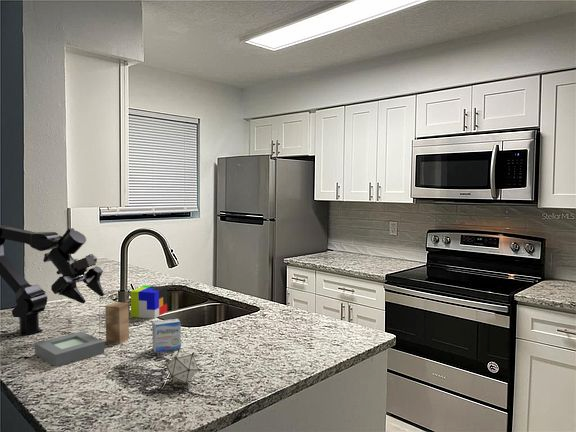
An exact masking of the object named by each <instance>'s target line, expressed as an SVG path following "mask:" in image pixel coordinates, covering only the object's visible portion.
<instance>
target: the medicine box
mask: <svg viewBox="0 0 576 432" xmlns="http://www.w3.org/2000/svg"><path fill="white" fill-rule="evenodd" d="M151 324H152V325H151V329H152V332H151V333H152V336H151V337H152V339H151V341H152V350H153V351H154V353H155V354H156V353H162V352H170V351H175V350H178V349H179V350H180V349H181V347H182V344H181V343H182V342H181V341H182V337H181V335H182V334H181V333H182V329H181V328H182V327H181V326H182V324H181V321H180V319H179V318H172V319H164V320H157V321H156V320H155V321H152V322H151Z"/></svg>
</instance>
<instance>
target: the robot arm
mask: <svg viewBox="0 0 576 432" xmlns="http://www.w3.org/2000/svg"><path fill="white" fill-rule="evenodd" d="M7 240H9V241H12V242H17V243H22V244H26V245H28V246H29V247H30V248H32V249H33V250H36V251H39V252H44V251H49V250H50V251H49V252H47V253H44V255H43V256H44V257H43V263H47V262H48V263H49V262H51V263H52V264H53V265H54V267H55V268H56V269H57V271H56V275H59V277H58V278H57V279H56V281H55V282H53V283H52V284H51V286H50V288H51V289H50V290H51V291H52V293H53V294H54V295H57V294H58V295H59V296H63V297H66V298H69V299H71V300H74V301H76V302H78V303H80V304H85V303H86V299H85V298H84V296H83V294H82V293H81V291H80V290H79V289H78V287H77V283H79V282H83V283H84V284H85V286H86V287H88V289H90V290H91V291H93V292H94V293H95V294H97V295H98V296H100V297H101V298H102V297H104V296H105V293H104V290H103V286H102V284H101V276H102V273H104V271H103V269H102V268H101V267H100V266H96V265H97V261H98V258H97V257H96V256H95V254H93V253H90V254H88V255H85V257H83V258H80V259H78V258H75V259H74V258H73V256H72V255H74V254H76V253H77V252H78V251H79V250H80V249H81V248H82V247H83V245H85V244H86V242H87V237H86V236H85V235H84V234H83V233H82V232H80V231H78V230H75V229H74V227H72V228H68V229H66V231H65V233H64V234H63V235H59V233H57V232H55V231H40V232H35V231H30V230H27V229H26V230H25V229H22V228H16V227H11V226H8V225H0V277H1V278H2V280H3V281H5V283H6V284H7V286H8V287H9V288H10V289H11V290H12V291H13V292H14V294H15V295H14V296H15V303H16V304H17V305H15V306H14V308H12V310H11V314H12V317H13V318H19V319H18V321H19V323H18V324H19V329H16V330H15V332H16V333H18V335H20V336H21V337H23V336H27V335H28V336H29V335H32V334H37V333H42V332H43V329H42V328H41V327H40V319H39V317H40V315H39V313H42V312H45V308H46V306H47V303H48V296H47V294H46V292H47V291H44V289H43V288H42V287H41V285H40V284H34V285H32V284H31V283H29V282H28V281H27V280H26V278H25V277H24V276H23V275H22V274H21V272H20V271H19V270H18V269H17V268H16V267H15V266H14V264H13V263H12V261H10V260H9V259H8V257H7V256H6V255H5V247H4V245H5V244H6V242H7ZM92 266H94V267H92ZM90 267H91V268H90ZM60 275H61V276H60Z"/></svg>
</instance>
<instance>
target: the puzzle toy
mask: <svg viewBox="0 0 576 432" xmlns="http://www.w3.org/2000/svg"><path fill="white" fill-rule="evenodd" d="M167 312H168V286H158V285H157V286H156V285H142V286H140V287H137V288H135V289H133V290H131V291H130V317H132V318H140V319H141V318H144V319H153V320H154V319H156V318H158V317H160V316H162V315H164V314H165V313H167Z"/></svg>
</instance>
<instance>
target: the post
mask: <svg viewBox="0 0 576 432" xmlns="http://www.w3.org/2000/svg"><path fill="white" fill-rule="evenodd" d="M129 308H130V307H129V302H119V301H115V302H111V303H109V304H107V305H105V312H104V313H105V344H115V345H121V344H123V343H124V342H126V341H128V340H129V339H130V320H129V319H130V318H129V317H130V316H129V314H130V313H129V310H130V309H129Z"/></svg>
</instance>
